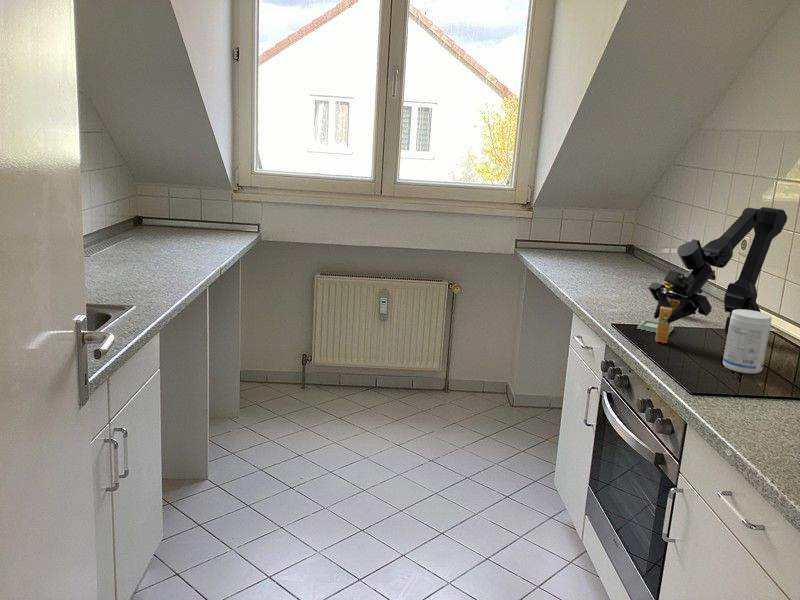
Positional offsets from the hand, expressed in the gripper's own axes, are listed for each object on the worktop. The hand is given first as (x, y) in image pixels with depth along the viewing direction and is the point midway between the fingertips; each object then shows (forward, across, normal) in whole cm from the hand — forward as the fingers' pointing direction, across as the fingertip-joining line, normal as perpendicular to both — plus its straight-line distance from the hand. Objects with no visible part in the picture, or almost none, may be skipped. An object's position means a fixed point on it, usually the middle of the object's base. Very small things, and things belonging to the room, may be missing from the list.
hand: (661, 319), depth 211 cm
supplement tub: (+2, +25, +7) cm, 26 cm away
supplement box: (+4, 0, +6) cm, 7 cm away
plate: (-3, -11, +13) cm, 17 cm away
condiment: (-20, -26, +30) cm, 44 cm away
